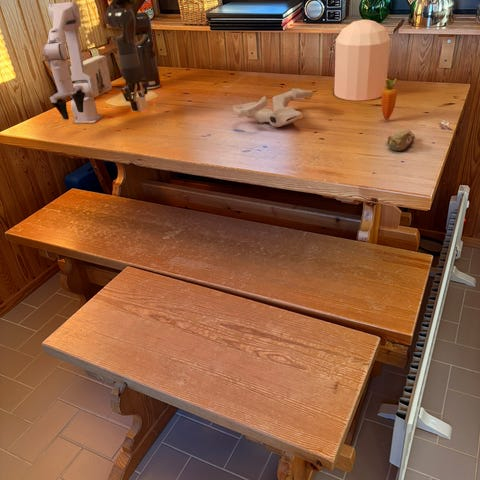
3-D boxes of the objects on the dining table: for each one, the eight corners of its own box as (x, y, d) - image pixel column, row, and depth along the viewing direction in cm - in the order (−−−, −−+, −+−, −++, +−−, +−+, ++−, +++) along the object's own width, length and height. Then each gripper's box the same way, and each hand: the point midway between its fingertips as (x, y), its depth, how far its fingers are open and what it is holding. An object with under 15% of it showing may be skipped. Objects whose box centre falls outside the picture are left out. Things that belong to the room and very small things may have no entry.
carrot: (394, 118, 167) (398, 76, 158) (393, 123, 163) (397, 80, 154) (379, 117, 168) (383, 75, 160) (378, 122, 165) (382, 80, 156)
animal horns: (230, 133, 167) (227, 101, 161) (244, 110, 188) (241, 81, 182) (308, 133, 161) (308, 99, 155) (313, 109, 182) (314, 78, 176)
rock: (408, 140, 153) (379, 139, 152) (414, 122, 149) (384, 120, 148) (421, 154, 144) (391, 153, 143) (428, 135, 140) (396, 133, 139)
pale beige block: (131, 111, 186) (129, 100, 184) (138, 107, 190) (136, 96, 187) (140, 112, 184) (138, 101, 182) (147, 108, 188) (145, 97, 185)
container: (354, 104, 182) (359, 27, 166) (324, 91, 198) (325, 20, 182) (396, 93, 189) (404, 18, 173) (363, 81, 205) (368, 12, 189)
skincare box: (87, 102, 214) (77, 67, 204) (78, 102, 215) (68, 66, 206) (113, 88, 229) (105, 54, 220) (104, 88, 231) (96, 54, 222)
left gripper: (55, 85, 159) (67, 123, 167) (85, 73, 169) (95, 110, 177) (41, 84, 162) (53, 121, 170) (71, 72, 172) (81, 108, 180)
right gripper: (126, 70, 170) (135, 115, 180) (149, 60, 181) (157, 103, 190) (110, 69, 174) (120, 113, 183) (134, 59, 184) (142, 102, 193)
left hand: (73, 115), depth 173 cm, fingers open, 7 cm apart
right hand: (139, 108), depth 187 cm, fingers closed on pale beige block, 4 cm apart
